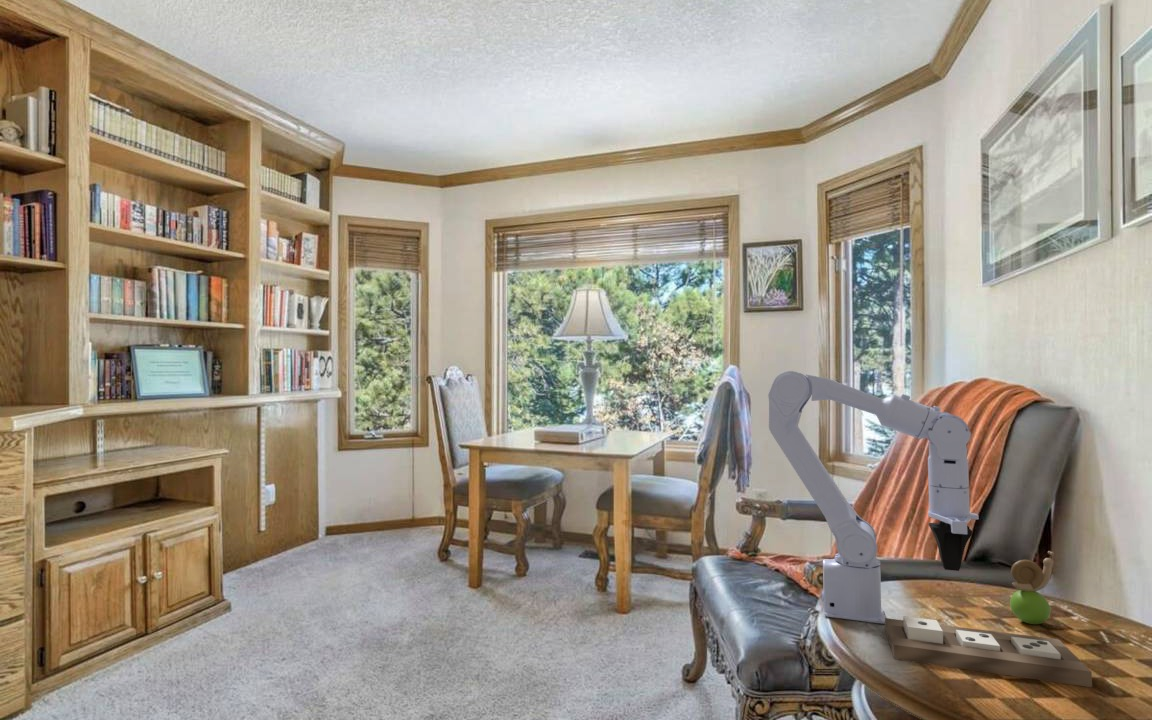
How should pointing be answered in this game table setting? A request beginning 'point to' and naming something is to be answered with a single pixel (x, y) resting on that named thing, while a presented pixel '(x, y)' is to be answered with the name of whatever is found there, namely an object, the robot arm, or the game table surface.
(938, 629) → the tile one pip
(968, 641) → the tile two pips
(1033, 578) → the snail figurine
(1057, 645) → the key board
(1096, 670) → the game table surface
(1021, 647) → the tile three pips
